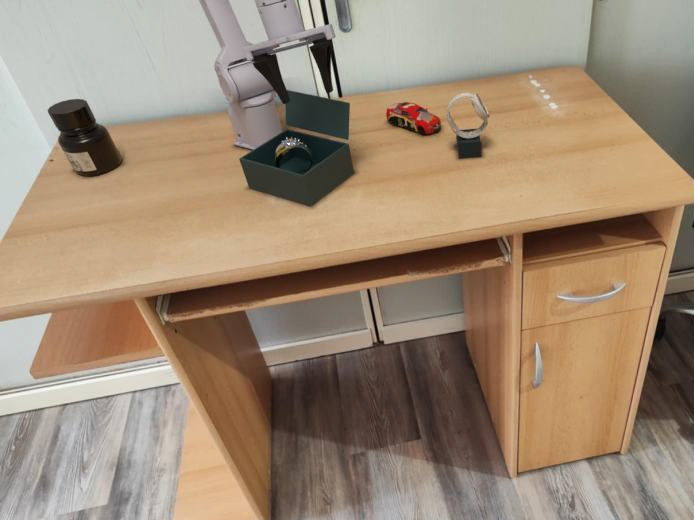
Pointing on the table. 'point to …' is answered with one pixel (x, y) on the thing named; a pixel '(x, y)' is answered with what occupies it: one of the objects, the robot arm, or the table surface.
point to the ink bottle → (84, 138)
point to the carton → (298, 168)
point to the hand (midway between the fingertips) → (308, 97)
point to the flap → (318, 114)
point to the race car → (413, 117)
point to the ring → (288, 145)
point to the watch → (469, 137)
